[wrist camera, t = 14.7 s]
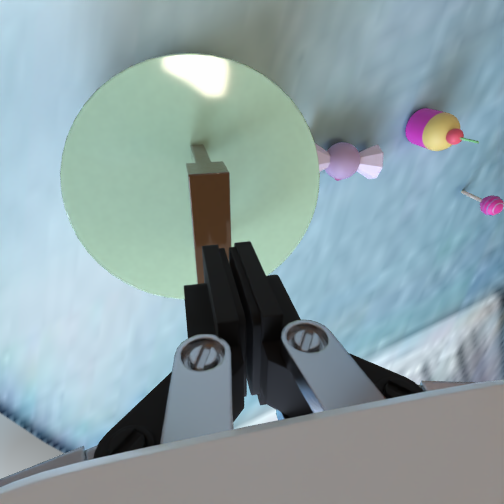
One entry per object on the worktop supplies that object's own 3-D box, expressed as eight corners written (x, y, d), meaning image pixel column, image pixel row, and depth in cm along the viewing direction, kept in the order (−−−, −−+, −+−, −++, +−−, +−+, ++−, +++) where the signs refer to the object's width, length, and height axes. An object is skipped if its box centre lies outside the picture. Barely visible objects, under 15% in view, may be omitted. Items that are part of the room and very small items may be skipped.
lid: (97, 301, 22) (76, 385, 16) (29, 51, 15) (-45, 54, 10) (302, 275, 25) (343, 341, 19) (324, 53, 18) (396, 55, 12)
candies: (294, 198, 30) (322, 229, 25) (311, 97, 26) (347, 110, 21) (466, 200, 35) (519, 226, 29) (502, 114, 31) (570, 127, 26)
